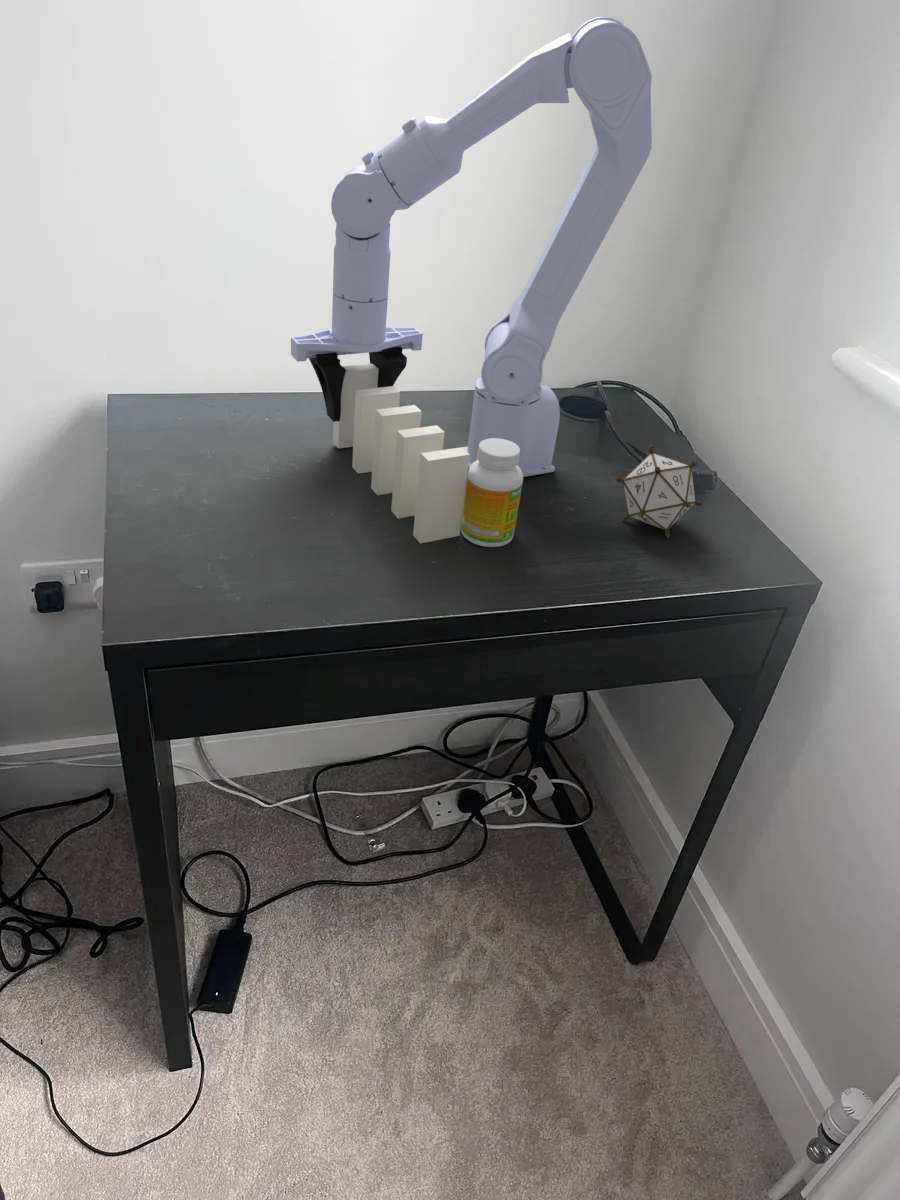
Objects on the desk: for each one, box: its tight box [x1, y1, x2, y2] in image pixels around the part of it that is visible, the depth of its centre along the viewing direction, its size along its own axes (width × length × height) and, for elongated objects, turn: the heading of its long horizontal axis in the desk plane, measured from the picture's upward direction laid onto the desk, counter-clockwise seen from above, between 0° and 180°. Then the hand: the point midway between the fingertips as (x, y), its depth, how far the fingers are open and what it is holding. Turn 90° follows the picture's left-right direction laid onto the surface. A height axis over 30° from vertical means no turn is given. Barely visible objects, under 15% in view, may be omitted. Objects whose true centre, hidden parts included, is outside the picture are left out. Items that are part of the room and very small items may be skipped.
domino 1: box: [332, 363, 379, 449], centre depth 102 cm, size 4×2×9 cm, turn 119°
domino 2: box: [351, 385, 401, 474], centre depth 99 cm, size 4×2×9 cm, turn 119°
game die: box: [614, 443, 704, 539], centre depth 95 cm, size 9×8×10 cm
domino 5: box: [412, 446, 470, 544], centre depth 88 cm, size 4×2×9 cm, turn 119°
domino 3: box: [370, 404, 423, 496], centre depth 95 cm, size 4×2×9 cm, turn 119°
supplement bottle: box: [460, 438, 524, 548], centre depth 89 cm, size 5×5×10 cm
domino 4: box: [390, 424, 446, 519], centre depth 92 cm, size 4×2×9 cm, turn 119°
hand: (354, 415), depth 103 cm, fingers open, 5 cm apart
